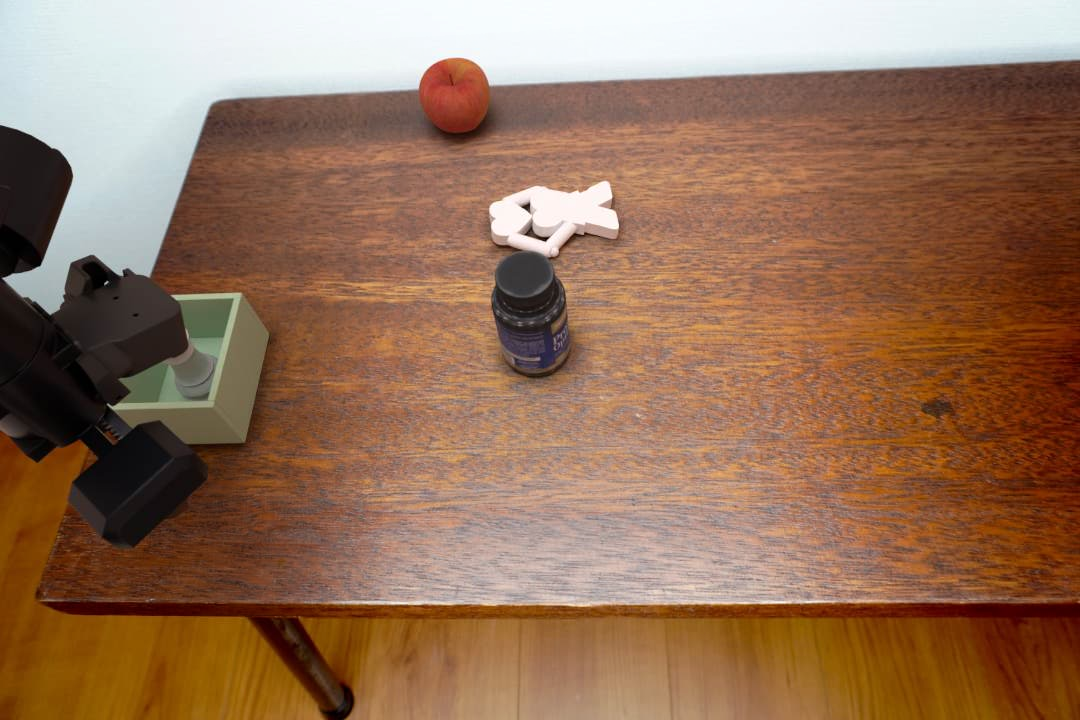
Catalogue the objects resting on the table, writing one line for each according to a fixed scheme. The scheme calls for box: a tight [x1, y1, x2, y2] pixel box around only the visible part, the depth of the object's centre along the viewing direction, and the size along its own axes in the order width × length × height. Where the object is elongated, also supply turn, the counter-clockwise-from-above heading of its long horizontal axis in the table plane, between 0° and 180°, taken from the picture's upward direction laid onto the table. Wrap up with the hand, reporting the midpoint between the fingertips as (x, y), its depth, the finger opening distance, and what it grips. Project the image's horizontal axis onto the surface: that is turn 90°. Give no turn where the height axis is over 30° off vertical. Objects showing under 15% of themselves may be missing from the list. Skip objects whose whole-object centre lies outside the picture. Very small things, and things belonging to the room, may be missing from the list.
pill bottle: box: [490, 250, 571, 377], centre depth 68 cm, size 6×6×11 cm
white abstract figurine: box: [488, 180, 620, 259], centre depth 79 cm, size 9×12×2 cm
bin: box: [107, 292, 270, 445], centre depth 71 cm, size 11×9×7 cm
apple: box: [418, 57, 491, 134], centre depth 85 cm, size 7×7×8 cm
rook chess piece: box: [164, 328, 218, 402], centre depth 70 cm, size 4×4×8 cm
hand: (140, 470), depth 55 cm, fingers open, 9 cm apart
